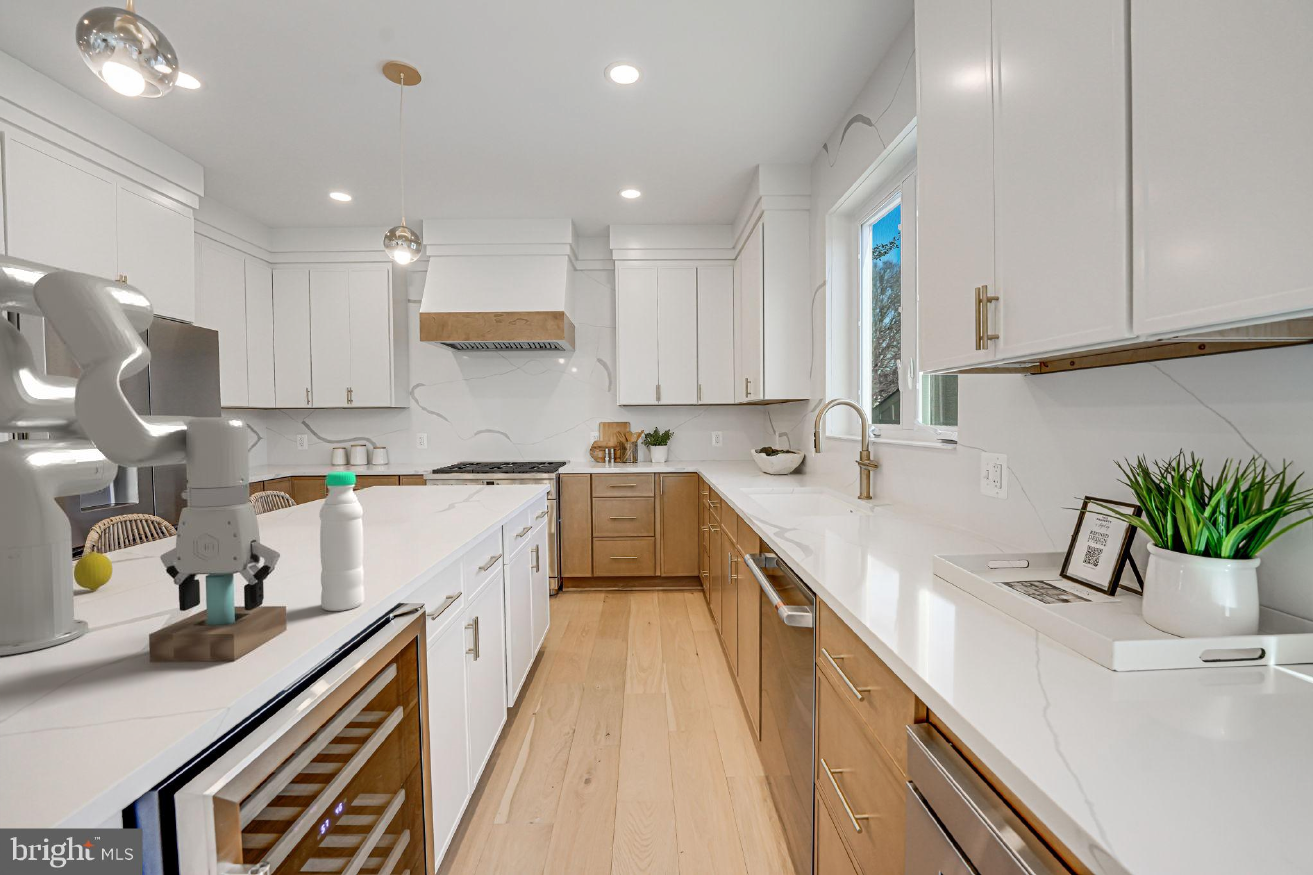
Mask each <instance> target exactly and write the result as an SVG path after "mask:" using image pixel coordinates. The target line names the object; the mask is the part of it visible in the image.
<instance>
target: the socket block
mask: <svg viewBox="0 0 1313 875" xmlns="http://www.w3.org/2000/svg"><path fill="white" fill-rule="evenodd" d="M234 610H235V622H233V623H231V624H229V625H207V608H206V609H204V610H202V611H199V612H196V613H195V614H192V615H190V616H188V617H186V618H185V617H184V618H183V619H181V620H178V621H176V622H174V623H172V624H170V625H167V626H165V627H162V628H160V629H158V630H156V631H153V632H151V633H149V634H148V643H149V644H148V646H149V647H148V649H149V662H150V663H151V662H152V663H154V662H155V663H157V662H158V663H166V662H168V663H170V662H175V663H176V662H179V663H180V662H181V663H182V662H184V663H185V662H235V661H237V660H239V659H241V658H242V657H244V656H245V655H248V654H249V653H250V652H252V651H254V650H256V649H257V648H259V647H261V646H263V645H265V643H267V642H269V641H271V640H273V639H275V638H276V637H277V636H279V635H281V634H283V633H285V632H286V631H287V606H285V605H282V606H281V605H280V606H279V605H278V606H277V605H273V606H272V605H269V606H268V605H267V606H266V605H260V606H258V607H256V608H254V609H252V610H245V608H244V605H243V606H240V605H239V606H238V605H237V606H235V605H234Z"/></svg>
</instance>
